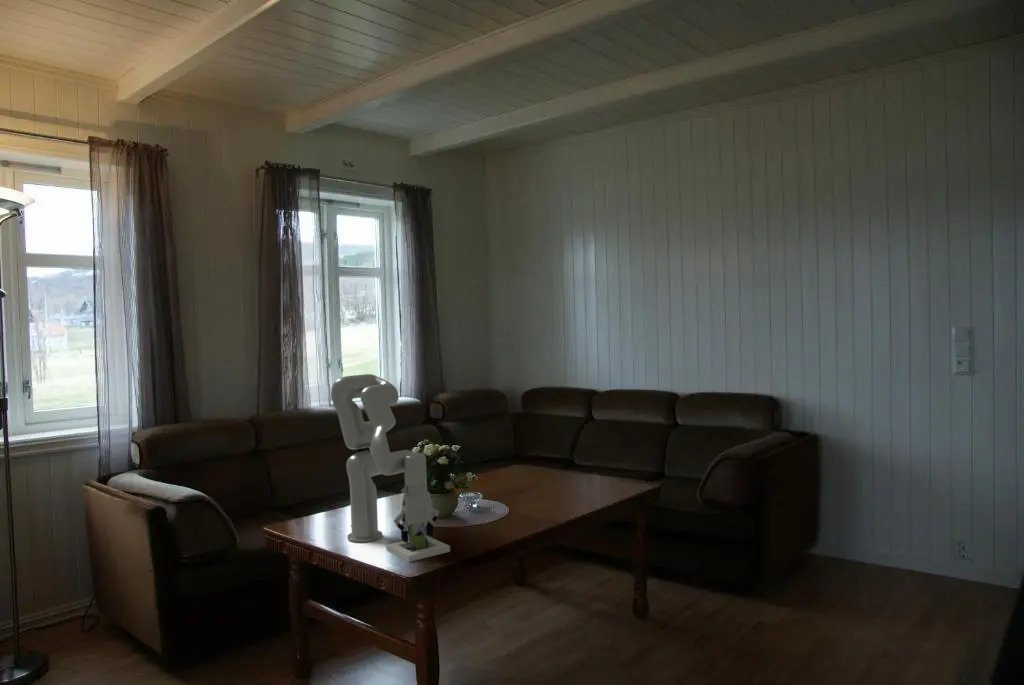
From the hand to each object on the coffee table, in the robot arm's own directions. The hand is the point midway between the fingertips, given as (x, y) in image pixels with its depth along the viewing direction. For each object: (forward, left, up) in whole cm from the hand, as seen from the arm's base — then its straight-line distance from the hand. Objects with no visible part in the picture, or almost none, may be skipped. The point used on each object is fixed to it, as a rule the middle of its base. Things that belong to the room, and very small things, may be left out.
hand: (417, 538), depth 252 cm
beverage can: (0, 0, -4) cm, 4 cm away
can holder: (0, 0, -4) cm, 4 cm away
